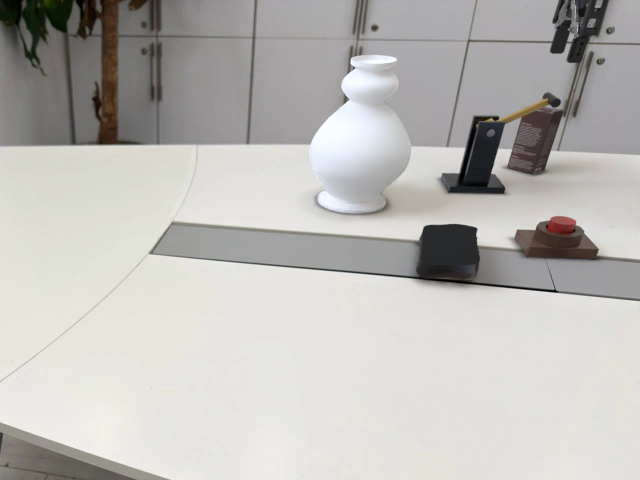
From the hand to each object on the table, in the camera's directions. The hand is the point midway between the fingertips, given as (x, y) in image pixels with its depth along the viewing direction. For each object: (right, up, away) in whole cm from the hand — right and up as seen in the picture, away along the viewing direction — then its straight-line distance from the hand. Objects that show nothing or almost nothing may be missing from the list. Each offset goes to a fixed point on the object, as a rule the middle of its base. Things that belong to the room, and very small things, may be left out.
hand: (564, 57), depth 118 cm
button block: (-8, -35, -9) cm, 37 cm away
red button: (-8, -33, -11) cm, 35 cm away
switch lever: (-4, -8, +7) cm, 12 cm away
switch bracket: (-9, -18, +15) cm, 25 cm away
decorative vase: (-34, -22, +11) cm, 42 cm away
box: (+6, -13, +22) cm, 26 cm away
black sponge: (-26, -38, -11) cm, 48 cm away
